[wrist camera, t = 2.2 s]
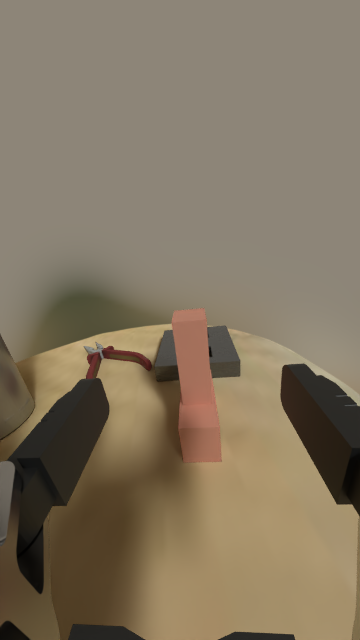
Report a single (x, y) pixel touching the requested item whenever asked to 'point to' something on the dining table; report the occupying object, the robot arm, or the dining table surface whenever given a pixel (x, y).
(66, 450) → the robot arm
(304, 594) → the dining table surface
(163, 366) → the grey socket board
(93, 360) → the pliers
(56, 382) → the dining table surface
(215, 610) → the dining table surface
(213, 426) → the pink tall block
